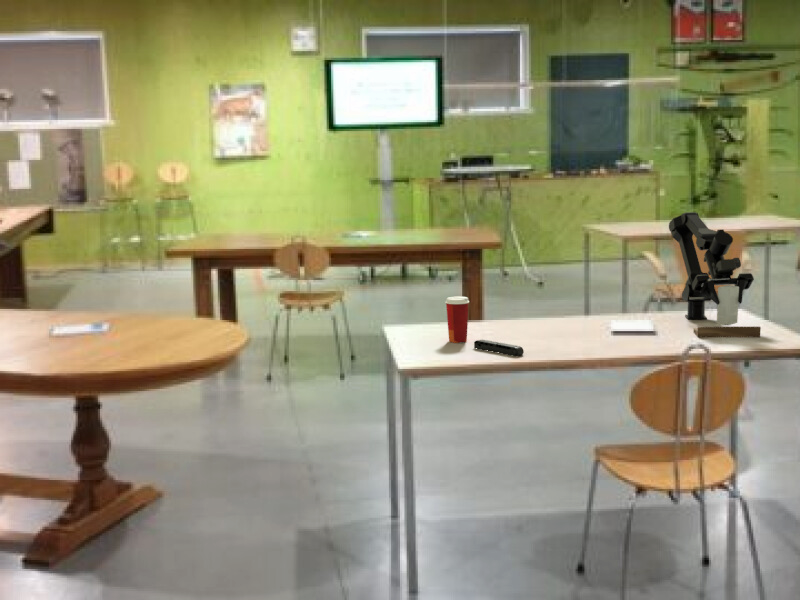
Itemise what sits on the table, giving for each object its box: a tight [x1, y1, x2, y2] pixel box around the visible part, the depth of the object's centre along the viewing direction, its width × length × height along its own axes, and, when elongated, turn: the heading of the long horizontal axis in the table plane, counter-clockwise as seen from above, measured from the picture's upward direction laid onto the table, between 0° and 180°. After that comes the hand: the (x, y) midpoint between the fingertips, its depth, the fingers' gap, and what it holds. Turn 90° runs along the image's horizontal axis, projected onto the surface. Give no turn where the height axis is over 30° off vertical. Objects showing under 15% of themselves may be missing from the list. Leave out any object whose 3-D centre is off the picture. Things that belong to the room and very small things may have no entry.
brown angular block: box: [693, 326, 761, 338], centre depth 318 cm, size 8×19×3 cm, turn 83°
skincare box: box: [716, 285, 739, 326], centre depth 320 cm, size 6×4×12 cm
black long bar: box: [473, 339, 525, 357], centre depth 302 cm, size 18×3×3 cm, turn 43°
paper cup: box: [444, 295, 470, 344], centre depth 318 cm, size 8×8×14 cm
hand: (729, 303), depth 319 cm, fingers closed on skincare box, 7 cm apart
